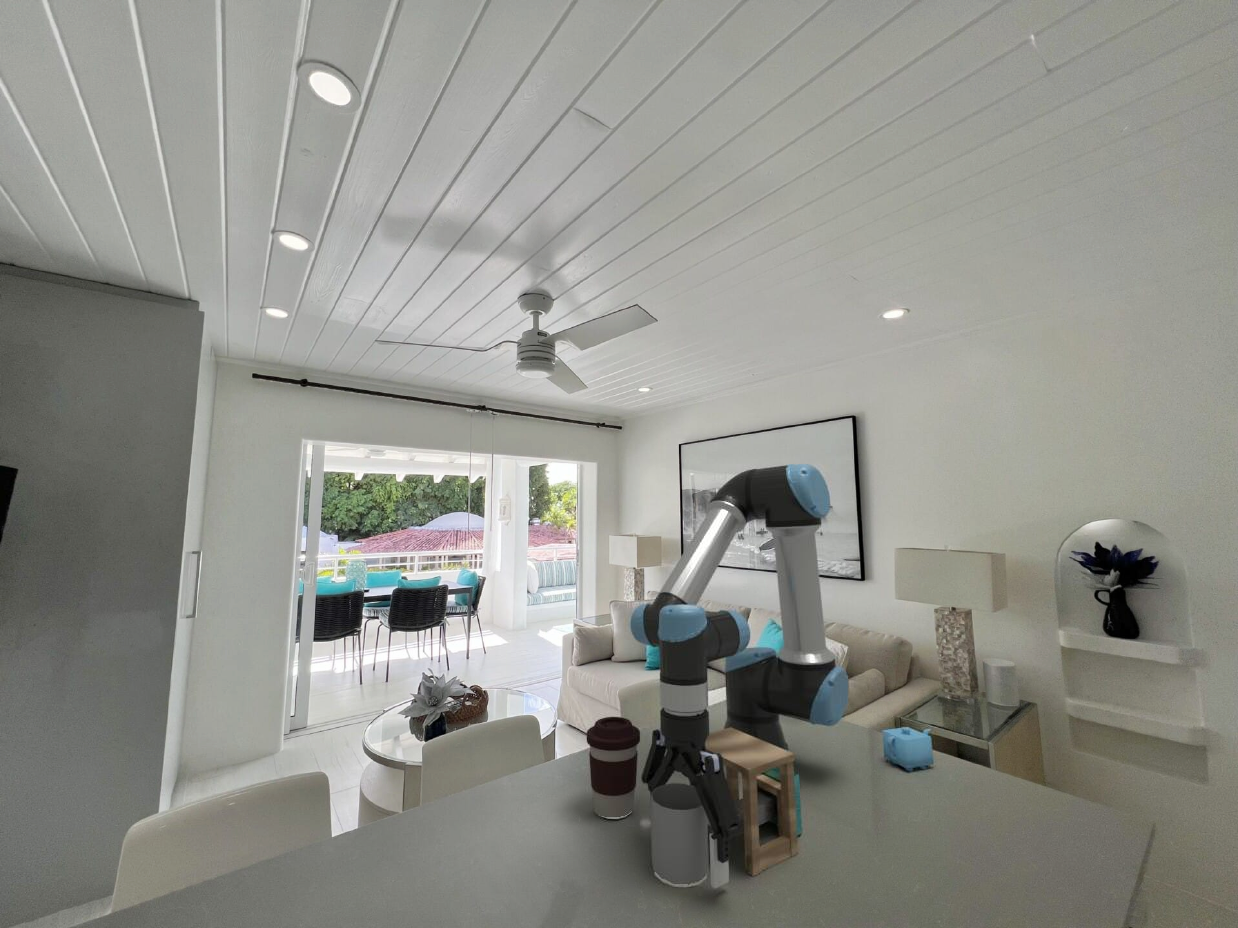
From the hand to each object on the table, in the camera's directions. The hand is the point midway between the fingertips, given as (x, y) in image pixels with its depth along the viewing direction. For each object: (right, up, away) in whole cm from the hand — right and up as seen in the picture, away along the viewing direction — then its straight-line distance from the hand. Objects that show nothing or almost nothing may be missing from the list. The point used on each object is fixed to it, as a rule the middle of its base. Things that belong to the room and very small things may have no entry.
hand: (687, 858), depth 76 cm
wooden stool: (+11, -2, +7) cm, 13 cm away
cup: (-1, -1, 0) cm, 2 cm away
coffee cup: (-11, -4, +16) cm, 20 cm away
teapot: (+53, -6, +34) cm, 64 cm away
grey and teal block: (+10, -2, +6) cm, 12 cm away
